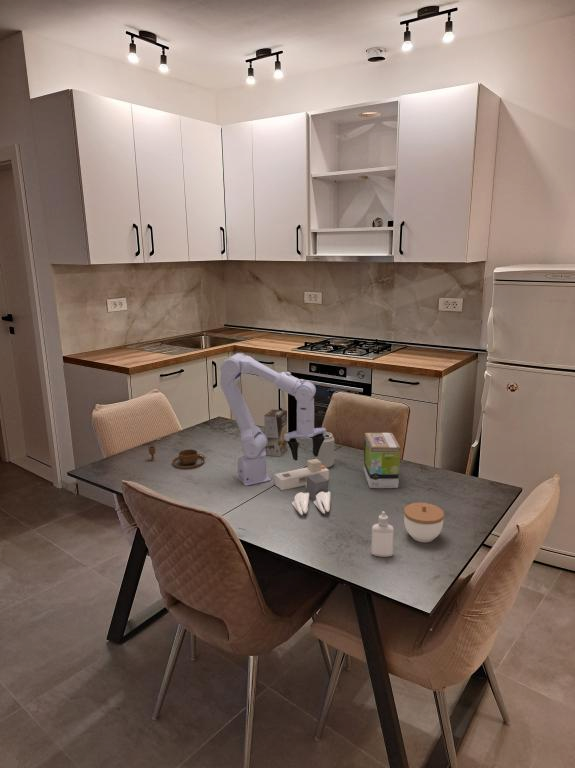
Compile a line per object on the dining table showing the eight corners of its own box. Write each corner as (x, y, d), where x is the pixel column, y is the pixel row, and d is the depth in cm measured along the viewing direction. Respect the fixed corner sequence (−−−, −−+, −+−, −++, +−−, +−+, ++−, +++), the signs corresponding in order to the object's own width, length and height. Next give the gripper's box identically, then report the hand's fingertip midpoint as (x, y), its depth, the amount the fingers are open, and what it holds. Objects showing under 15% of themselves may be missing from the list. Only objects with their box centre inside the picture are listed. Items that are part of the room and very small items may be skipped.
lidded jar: (420, 523, 161) (421, 493, 158) (450, 538, 152) (452, 507, 150) (394, 535, 155) (395, 504, 152) (425, 551, 146) (426, 519, 144)
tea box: (399, 488, 184) (401, 446, 180) (369, 489, 184) (370, 447, 180) (390, 470, 198) (392, 431, 194) (362, 470, 198) (363, 431, 194)
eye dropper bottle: (387, 560, 142) (389, 518, 139) (368, 553, 145) (369, 512, 142) (395, 553, 145) (397, 511, 142) (376, 546, 149) (377, 505, 146)
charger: (315, 502, 174) (315, 483, 173) (302, 491, 182) (302, 473, 181) (327, 499, 176) (328, 480, 175) (314, 488, 184) (314, 470, 182)
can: (334, 469, 200) (335, 437, 197) (313, 469, 200) (313, 437, 197) (333, 461, 207) (333, 430, 204) (313, 461, 207) (313, 430, 204)
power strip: (281, 490, 183) (281, 478, 182) (274, 484, 188) (274, 472, 187) (328, 479, 191) (329, 468, 190) (320, 474, 196) (321, 462, 195)
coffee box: (280, 457, 212) (279, 417, 208) (264, 455, 214) (263, 415, 210) (287, 448, 220) (287, 410, 216) (272, 447, 222) (271, 408, 218)
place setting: (179, 476, 197) (178, 461, 195) (146, 462, 210) (145, 448, 208) (216, 461, 209) (215, 447, 208) (183, 449, 222) (182, 435, 221)
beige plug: (312, 472, 188) (312, 464, 187) (307, 468, 191) (307, 460, 191) (321, 470, 190) (321, 462, 189) (316, 466, 193) (316, 458, 192)
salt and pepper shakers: (292, 502, 175) (289, 519, 165) (292, 490, 174) (289, 507, 164) (330, 503, 175) (330, 520, 164) (330, 491, 173) (330, 507, 163)
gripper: (290, 425, 175) (290, 465, 179) (330, 419, 181) (330, 458, 185) (281, 419, 182) (281, 458, 185) (320, 413, 187) (320, 451, 191)
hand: (305, 457), depth 185 cm, fingers open, 7 cm apart
